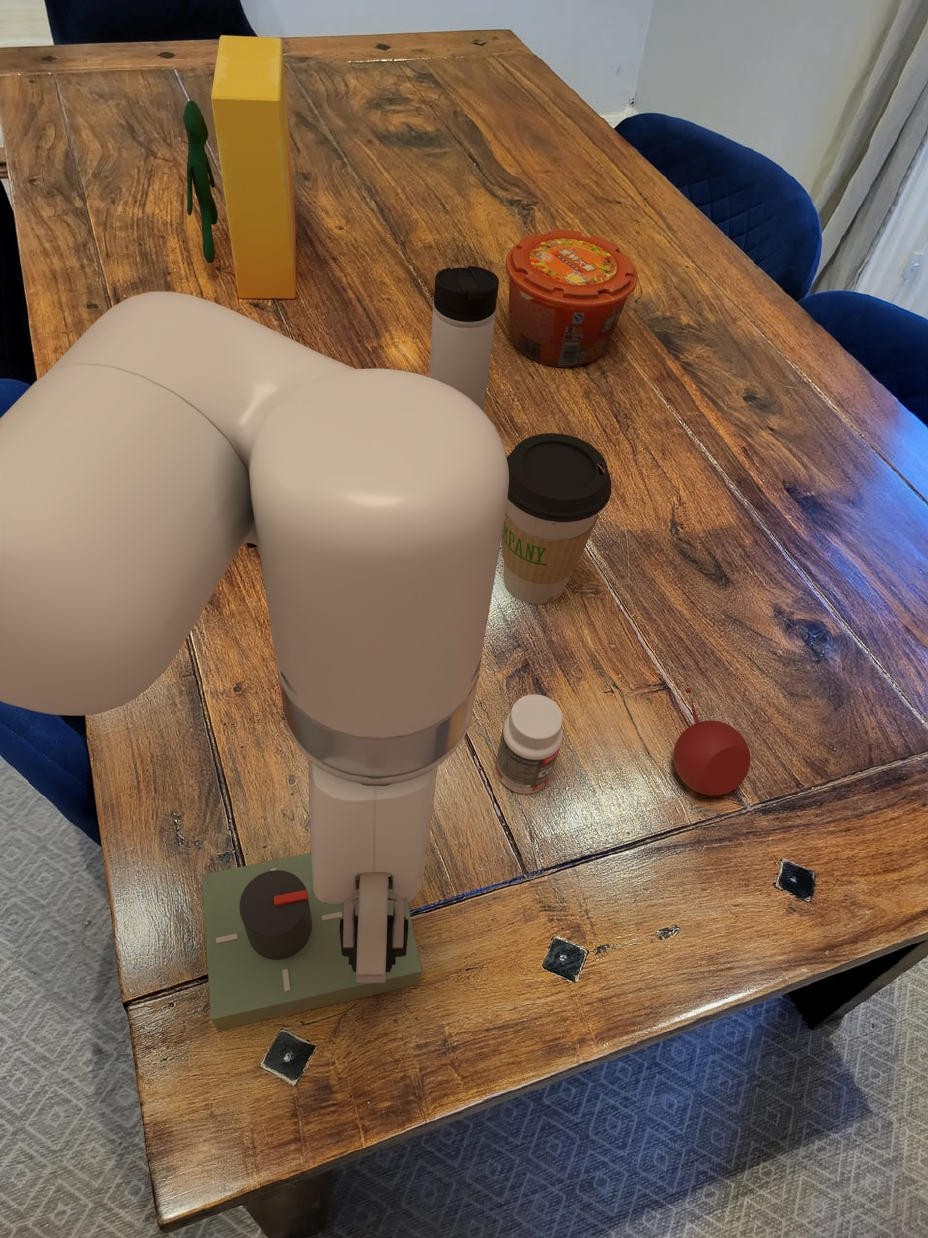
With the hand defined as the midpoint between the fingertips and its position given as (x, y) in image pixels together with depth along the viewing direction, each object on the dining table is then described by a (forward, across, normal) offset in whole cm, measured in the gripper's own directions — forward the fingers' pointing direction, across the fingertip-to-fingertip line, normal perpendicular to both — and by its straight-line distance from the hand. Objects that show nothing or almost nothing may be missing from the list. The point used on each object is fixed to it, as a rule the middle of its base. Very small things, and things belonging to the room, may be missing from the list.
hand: (377, 859), depth 47 cm
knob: (+16, -2, -7) cm, 18 cm away
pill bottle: (+20, -16, +12) cm, 28 cm away
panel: (+20, -2, -5) cm, 20 cm away
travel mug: (+20, -58, +6) cm, 62 cm away
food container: (+20, -79, +20) cm, 84 cm away
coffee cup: (+20, -37, +14) cm, 44 cm away
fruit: (+20, -18, +27) cm, 38 cm away
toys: (+20, -92, -20) cm, 96 cm away
